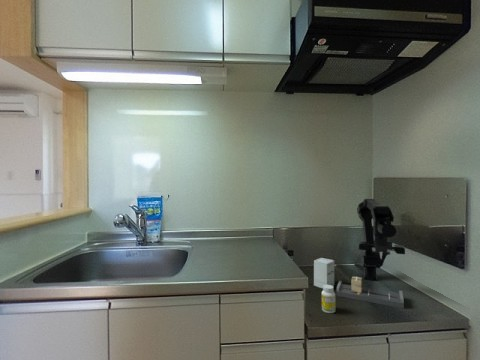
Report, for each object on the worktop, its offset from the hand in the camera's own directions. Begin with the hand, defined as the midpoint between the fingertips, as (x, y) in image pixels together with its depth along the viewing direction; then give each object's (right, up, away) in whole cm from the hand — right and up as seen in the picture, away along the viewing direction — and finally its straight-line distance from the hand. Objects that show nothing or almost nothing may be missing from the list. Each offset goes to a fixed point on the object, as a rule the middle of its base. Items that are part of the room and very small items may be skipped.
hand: (381, 265), depth 124 cm
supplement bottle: (-30, -13, -17) cm, 37 cm away
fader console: (-9, -12, -6) cm, 16 cm away
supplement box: (-24, -12, +7) cm, 28 cm away
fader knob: (-13, -10, -3) cm, 17 cm away
